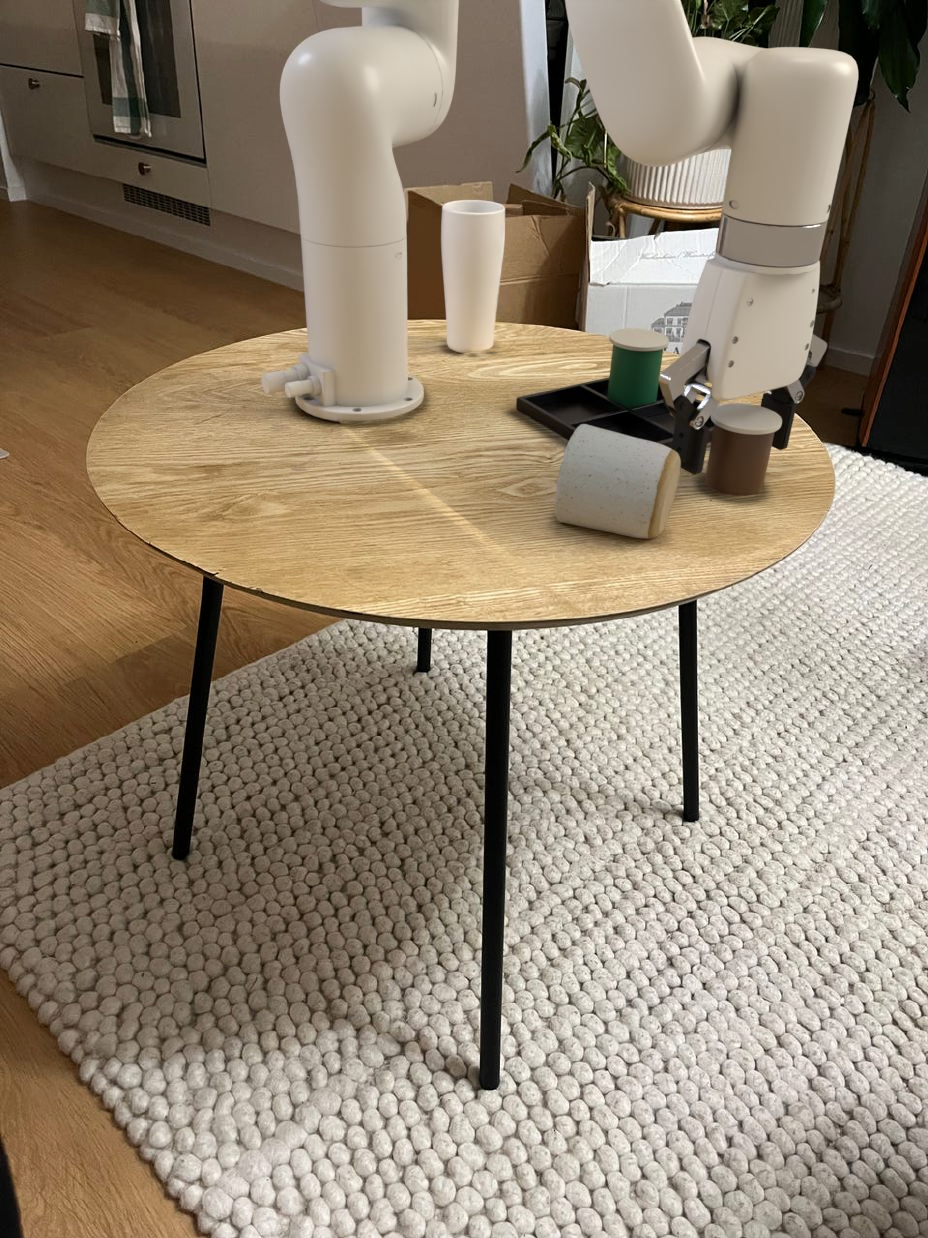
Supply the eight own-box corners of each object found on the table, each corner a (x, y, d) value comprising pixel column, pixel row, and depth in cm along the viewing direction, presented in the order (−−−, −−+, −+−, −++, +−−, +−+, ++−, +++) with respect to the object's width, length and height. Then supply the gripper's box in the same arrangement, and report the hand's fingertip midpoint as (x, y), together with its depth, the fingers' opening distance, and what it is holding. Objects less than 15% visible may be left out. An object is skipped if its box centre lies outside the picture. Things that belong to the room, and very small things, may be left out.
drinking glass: (502, 339, 115) (508, 200, 106) (497, 359, 109) (504, 214, 101) (443, 336, 115) (445, 198, 107) (436, 355, 110) (437, 211, 101)
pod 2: (732, 508, 81) (747, 435, 77) (685, 482, 85) (696, 410, 81) (781, 493, 83) (797, 421, 80) (732, 468, 87) (745, 398, 84)
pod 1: (627, 416, 95) (635, 350, 92) (591, 397, 99) (597, 333, 96) (671, 405, 98) (681, 341, 94) (634, 387, 102) (642, 324, 98)
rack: (615, 473, 86) (617, 455, 85) (515, 413, 96) (516, 397, 95) (741, 438, 93) (744, 421, 92) (635, 386, 103) (637, 370, 102)
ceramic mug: (655, 559, 74) (670, 463, 69) (549, 538, 76) (557, 443, 72) (682, 501, 82) (696, 412, 78) (585, 483, 84) (594, 396, 80)
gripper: (810, 219, 80) (768, 420, 89) (646, 242, 72) (619, 460, 81) (888, 239, 75) (834, 451, 84) (720, 267, 67) (682, 497, 76)
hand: (728, 455), depth 83 cm, fingers open, 9 cm apart
